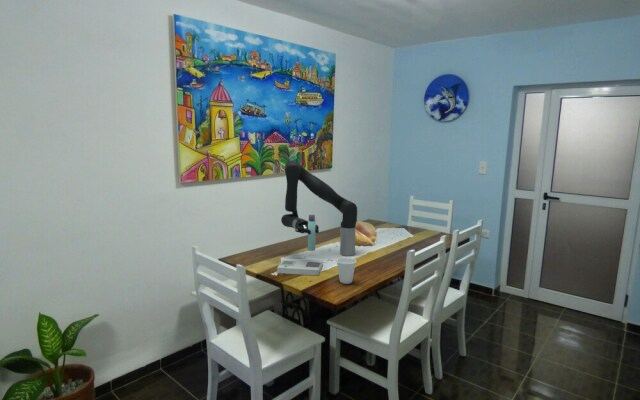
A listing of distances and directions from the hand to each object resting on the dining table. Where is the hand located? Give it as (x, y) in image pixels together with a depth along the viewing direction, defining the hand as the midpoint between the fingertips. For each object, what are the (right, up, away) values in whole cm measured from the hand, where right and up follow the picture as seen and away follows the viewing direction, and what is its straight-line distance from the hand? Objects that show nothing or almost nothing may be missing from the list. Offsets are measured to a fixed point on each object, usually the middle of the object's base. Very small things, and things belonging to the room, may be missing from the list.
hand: (313, 231), depth 198 cm
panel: (-7, -21, +7) cm, 23 cm away
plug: (-1, -10, +4) cm, 11 cm away
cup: (+16, -24, -11) cm, 31 cm away
